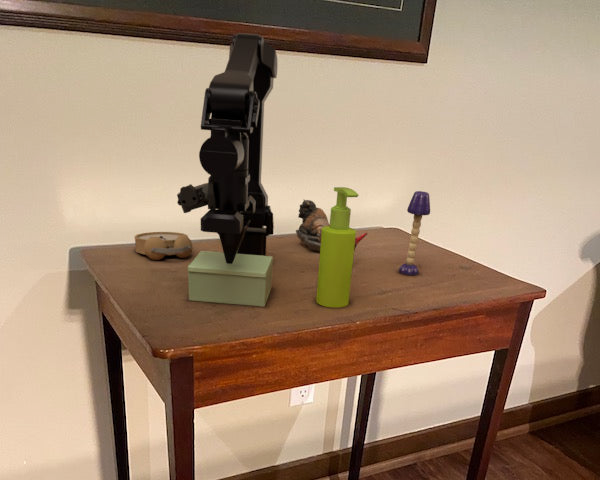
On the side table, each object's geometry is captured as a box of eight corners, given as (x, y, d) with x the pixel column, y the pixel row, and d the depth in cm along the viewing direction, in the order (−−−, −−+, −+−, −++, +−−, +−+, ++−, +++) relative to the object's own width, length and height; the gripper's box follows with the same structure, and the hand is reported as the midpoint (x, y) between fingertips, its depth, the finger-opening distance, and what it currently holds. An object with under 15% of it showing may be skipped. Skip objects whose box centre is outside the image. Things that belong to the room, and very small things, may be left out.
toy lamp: (424, 273, 132) (437, 193, 124) (412, 277, 129) (424, 195, 121) (405, 268, 134) (417, 189, 127) (393, 272, 131) (404, 191, 123)
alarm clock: (178, 230, 140) (200, 234, 127) (180, 252, 141) (201, 258, 129) (128, 233, 135) (146, 237, 122) (130, 256, 136) (148, 262, 124)
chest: (264, 306, 108) (265, 277, 105) (188, 300, 108) (188, 270, 105) (271, 288, 117) (272, 260, 114) (201, 282, 117) (201, 255, 115)
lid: (265, 277, 105) (265, 273, 104) (187, 271, 105) (187, 266, 105) (272, 260, 114) (272, 256, 114) (201, 254, 115) (201, 250, 114)
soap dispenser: (327, 311, 108) (337, 192, 98) (310, 298, 113) (319, 184, 104) (356, 308, 110) (370, 191, 100) (339, 295, 115) (350, 184, 106)
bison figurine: (338, 253, 142) (342, 208, 137) (311, 255, 139) (314, 209, 134) (314, 240, 151) (317, 198, 147) (288, 242, 148) (290, 199, 144)
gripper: (194, 157, 108) (195, 246, 116) (166, 172, 92) (170, 274, 99) (257, 162, 108) (254, 250, 115) (240, 178, 91) (238, 280, 99)
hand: (229, 263), depth 107 cm, fingers closed
